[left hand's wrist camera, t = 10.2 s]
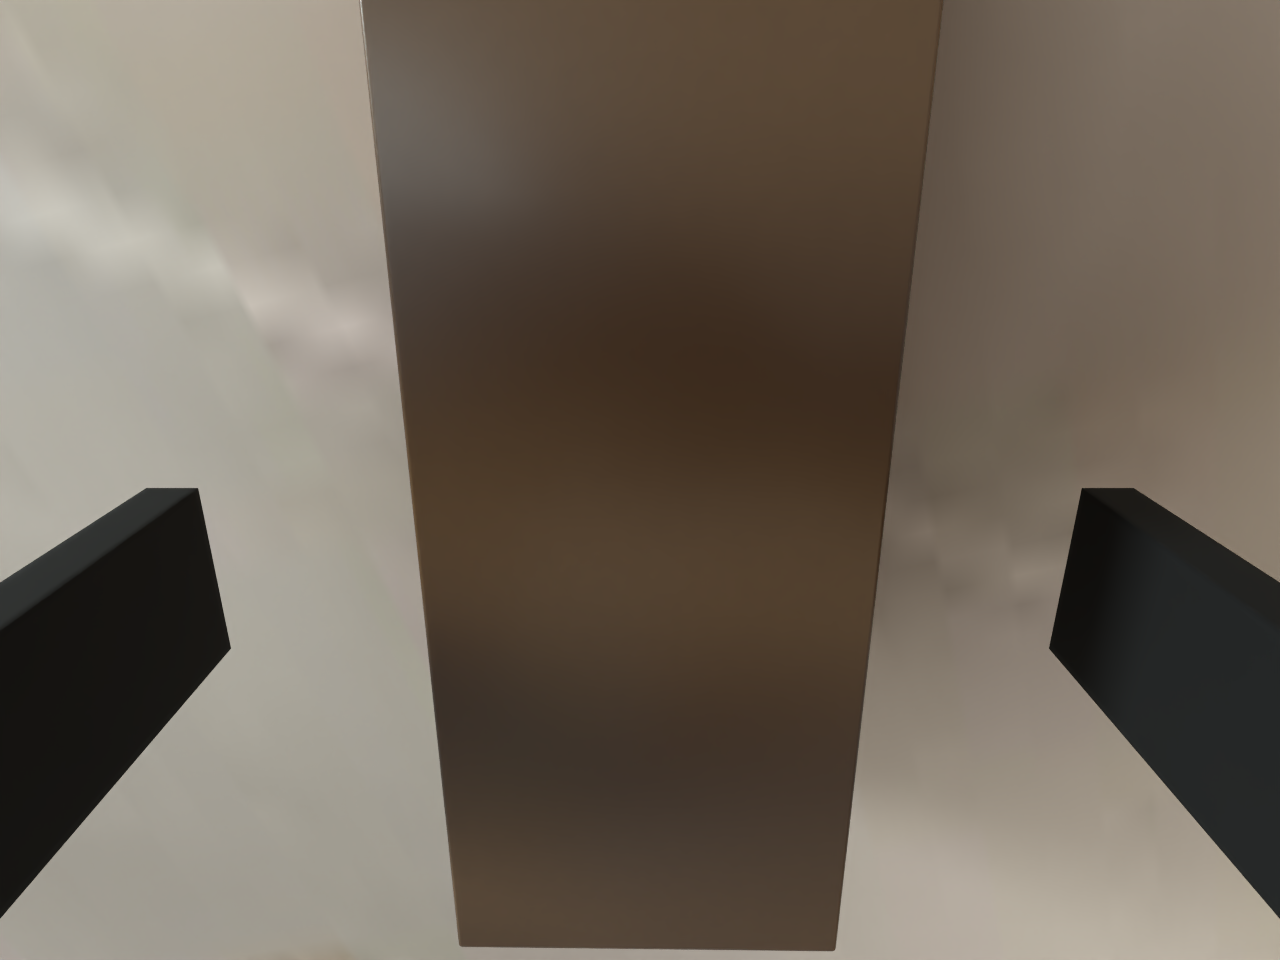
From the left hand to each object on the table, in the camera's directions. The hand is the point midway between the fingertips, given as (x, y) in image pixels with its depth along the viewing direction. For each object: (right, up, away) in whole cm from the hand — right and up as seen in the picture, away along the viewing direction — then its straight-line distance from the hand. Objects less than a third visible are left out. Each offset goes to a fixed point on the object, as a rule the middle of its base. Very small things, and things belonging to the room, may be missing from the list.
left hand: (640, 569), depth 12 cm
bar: (0, +23, -3) cm, 23 cm away
